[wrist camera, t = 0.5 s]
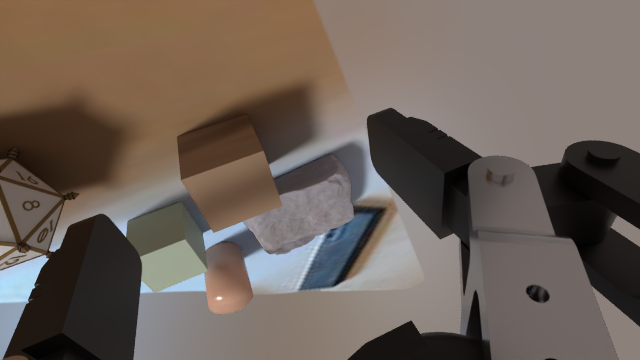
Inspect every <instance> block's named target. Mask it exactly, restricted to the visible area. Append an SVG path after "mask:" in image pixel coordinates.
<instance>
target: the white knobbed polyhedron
mask: <svg viewBox="0 0 640 360" xmlns="http://www.w3.org/2000/svg"><path fill="white" fill-rule="evenodd" d="M8 152H9V154H7V155H8V158H5V159H0V270H3V269H6V268H9V267H12V266H14V265H17V264H20V263H23V262H26V261H28V260H31V259H34V258H37V257H40V256H43V255H46V258H50V257H51V256H52V255H53V253H54V252H50V251H49V248H50V245H51V242H52V239H53V236H54V233H55V230H56V227H57V223H58V220H59V217H60V214H61V211H62V208H63V205H64V202H65V200H71V199H75V198H76V197H77V196H78V195H79V193H74V192H71V193H67V194H66V195H62V194H61V193H59V192H58V191H57V190H55V189H54V188H52V187H51V186H50V185H48V184H47V183H46V182H44V181H43V180H41V179H40V178H39V177H37V176H36V175H35V174H33V173H32V172H30V171H29V170H28V169H26V168H25V167H24V166H22V165H21V164H20V163H18V162H17V161H15V158H16V157H18V156H17V155H18V154H19V153H18V151H17V148H16V147H15V148H13V149H12V150H9V151H8Z"/></svg>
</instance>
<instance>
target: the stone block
mask: <svg viewBox="0 0 640 360" xmlns="http://www.w3.org/2000/svg"><path fill="white" fill-rule="evenodd" d="M274 182H275V185H276V188H277V191H278V194H279V197H280V200H281V203H282V206H281V207H278V208H276V209H273V210H270V211H268V212H265V213H263V214H260V215H258V216H255V217H253V218H250V219H247V220H245V221H242V222H243V223H244V224H245V225H247V227H248V228H249V230H251V231H252V232H253V233H254V235H255V236H256V238H257V239H258V241H259V242H260V244H261V246H262V247H263V248H264V250H265V251H266V252H267V253H269V254H274V253H275V254H277V255H278V254H286V253H288V252H290V251H291V250H292V249H295V248H297V247H301V246H303V245H305V244H307V243H309V242H310V241H312V240H313V239H314V238H315V236H318V235H321V234H323V233H325V232H327V231H329V230H330V229H333V228H337V227H339V226H341V225H343V224H345V223H347V222H349V221H350V220H352V219H353V217H354V212H353V204H352V202H351V183H350V179H349V175H348V172H347V171H346V169H345V168H344V166H343V165H342V163H341V162H340V161H339V160H338V159H337V158H336V157H335V156H334V155H332V154H330V155H326V156H323V157H321V158H319V159H317V160H315V161H312V162H310V163H308V164H306V165H304V166H302V167H300V168H297V169H295V170H293V171H291V172H289V173H287V174H285V175H283V176H280V177H278V178H276V179H274Z"/></svg>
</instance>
